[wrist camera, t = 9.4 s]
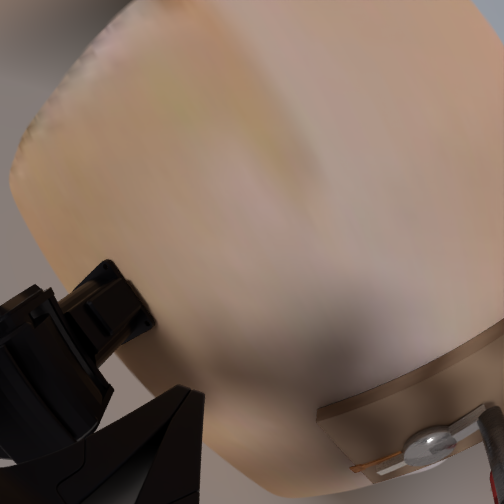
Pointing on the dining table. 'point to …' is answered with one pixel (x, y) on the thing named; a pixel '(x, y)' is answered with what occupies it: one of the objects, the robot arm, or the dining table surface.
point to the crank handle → (445, 439)
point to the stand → (418, 404)
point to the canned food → (493, 488)
